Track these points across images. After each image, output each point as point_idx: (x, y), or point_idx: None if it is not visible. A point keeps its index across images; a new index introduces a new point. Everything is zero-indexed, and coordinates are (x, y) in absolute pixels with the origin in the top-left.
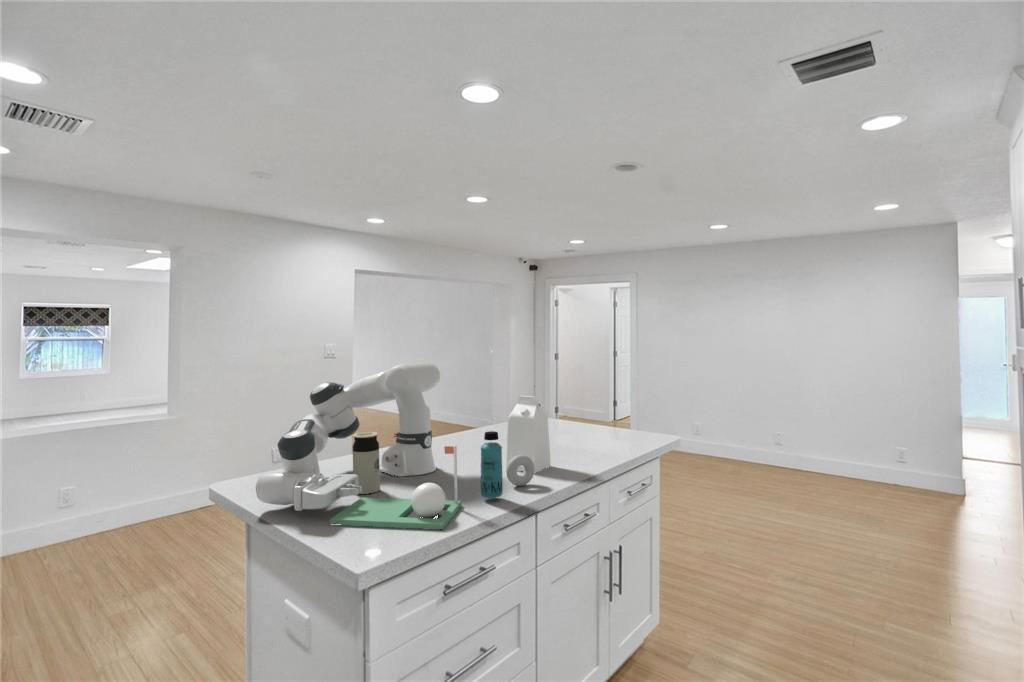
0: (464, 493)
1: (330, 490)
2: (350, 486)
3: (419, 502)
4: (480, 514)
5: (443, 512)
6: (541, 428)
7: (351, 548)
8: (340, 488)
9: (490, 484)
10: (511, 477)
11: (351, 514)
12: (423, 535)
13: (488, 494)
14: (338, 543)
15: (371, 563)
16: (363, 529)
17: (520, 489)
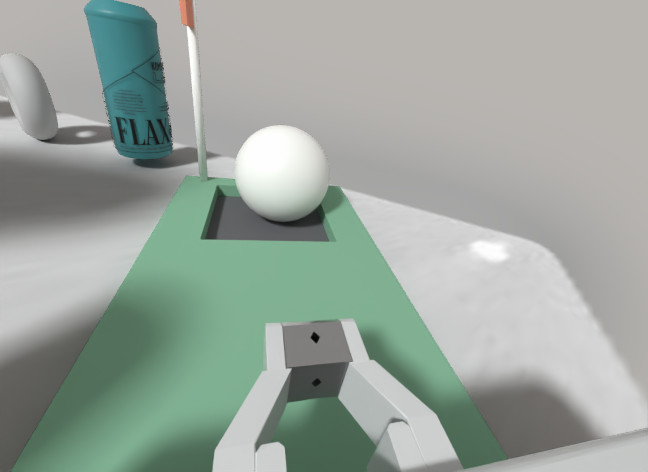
0: (56, 189)
1: (632, 451)
2: (256, 450)
3: (329, 174)
4: None
5: (242, 202)
6: None
7: (520, 288)
8: (435, 469)
9: (168, 121)
10: (55, 117)
11: None
12: (373, 211)
13: (170, 146)
14: (541, 329)
15: (514, 240)
16: (424, 314)
17: (76, 140)
